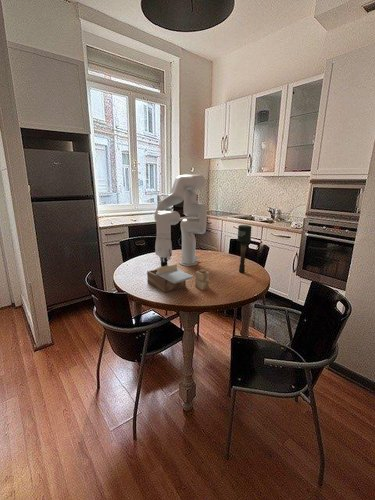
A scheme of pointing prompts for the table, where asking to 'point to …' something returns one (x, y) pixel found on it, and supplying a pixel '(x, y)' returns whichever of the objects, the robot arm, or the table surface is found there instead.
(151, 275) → the toolbox
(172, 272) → the lid
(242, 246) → the potato masher grenade
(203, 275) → the cream upright block
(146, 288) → the table surface
